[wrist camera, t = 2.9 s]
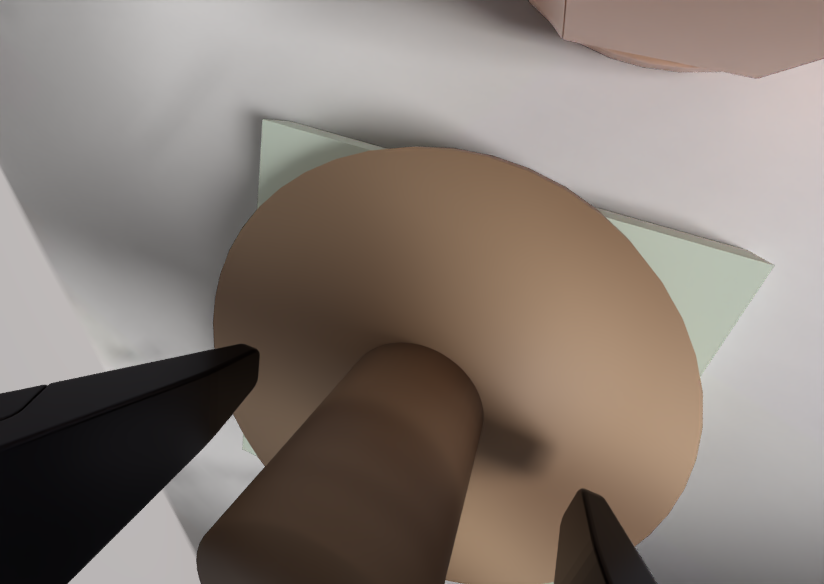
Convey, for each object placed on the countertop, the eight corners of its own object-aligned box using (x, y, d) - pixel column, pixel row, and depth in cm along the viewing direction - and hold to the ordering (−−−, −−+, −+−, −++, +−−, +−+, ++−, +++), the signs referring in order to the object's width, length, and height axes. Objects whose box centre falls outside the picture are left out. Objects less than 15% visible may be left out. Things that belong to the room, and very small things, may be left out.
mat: (550, 565, 12) (550, 600, 11) (262, 428, 14) (242, 449, 13) (748, 250, 7) (775, 265, 7) (290, 120, 9) (262, 119, 9)
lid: (561, 618, 11) (567, 983, 6) (229, 453, 13) (47, 629, 8) (827, 246, 6) (1661, 569, 2) (244, 88, 8) (-139, 25, 4)
